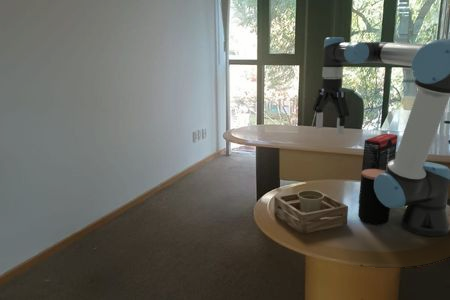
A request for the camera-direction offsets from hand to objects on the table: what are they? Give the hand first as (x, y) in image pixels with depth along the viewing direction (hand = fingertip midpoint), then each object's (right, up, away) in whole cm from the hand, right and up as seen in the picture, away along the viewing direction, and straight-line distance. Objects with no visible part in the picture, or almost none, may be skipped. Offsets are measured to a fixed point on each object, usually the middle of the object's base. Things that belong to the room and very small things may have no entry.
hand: (329, 131), depth 161 cm
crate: (-11, -33, -14) cm, 38 cm away
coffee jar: (+12, -34, -16) cm, 39 cm away
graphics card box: (+20, -29, +2) cm, 35 cm away
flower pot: (-11, -33, -15) cm, 37 cm away
